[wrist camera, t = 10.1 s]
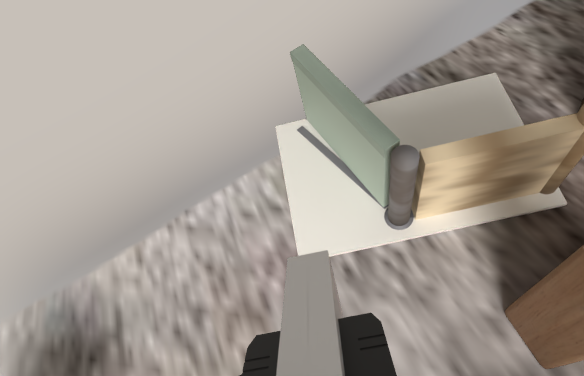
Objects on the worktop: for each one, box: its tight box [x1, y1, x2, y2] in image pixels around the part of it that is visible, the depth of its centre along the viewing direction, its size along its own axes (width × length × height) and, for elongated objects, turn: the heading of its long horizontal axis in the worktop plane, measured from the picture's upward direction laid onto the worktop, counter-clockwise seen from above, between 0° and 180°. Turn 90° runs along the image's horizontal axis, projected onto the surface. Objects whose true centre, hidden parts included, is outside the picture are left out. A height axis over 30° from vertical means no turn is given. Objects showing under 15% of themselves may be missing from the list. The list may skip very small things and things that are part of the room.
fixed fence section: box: [388, 104, 584, 226], centre depth 31 cm, size 14×2×10 cm, turn 100°
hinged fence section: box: [290, 44, 400, 208], centre depth 35 cm, size 12×1×9 cm, turn 33°
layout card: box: [275, 73, 567, 257], centre depth 38 cm, size 22×14×1 cm, turn 100°
